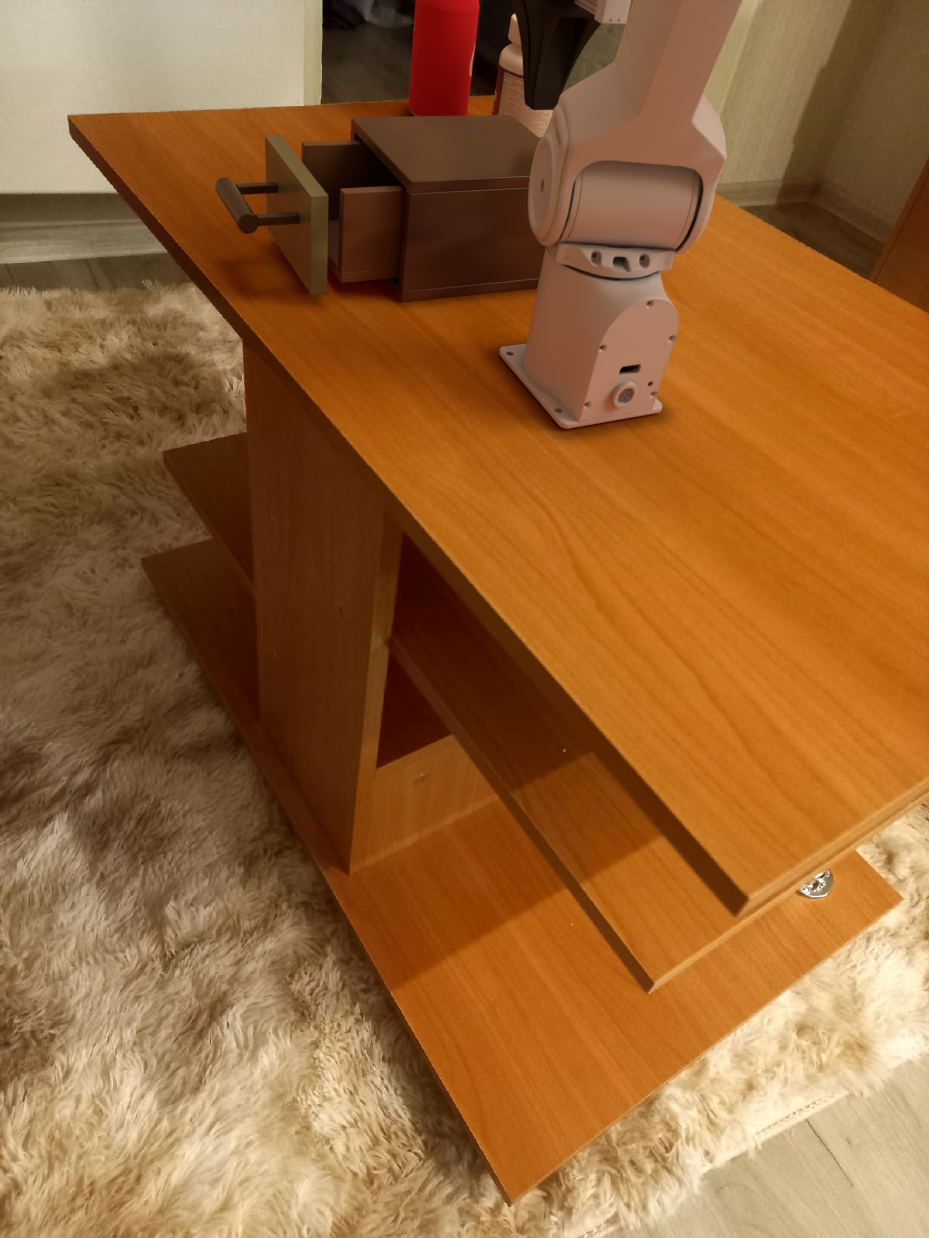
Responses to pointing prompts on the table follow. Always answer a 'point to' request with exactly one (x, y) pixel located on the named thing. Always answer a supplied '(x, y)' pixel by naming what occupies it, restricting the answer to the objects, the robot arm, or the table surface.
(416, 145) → the cabinet
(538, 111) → the pill bottle
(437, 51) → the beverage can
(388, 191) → the drawer
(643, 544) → the table surface
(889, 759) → the table surface
